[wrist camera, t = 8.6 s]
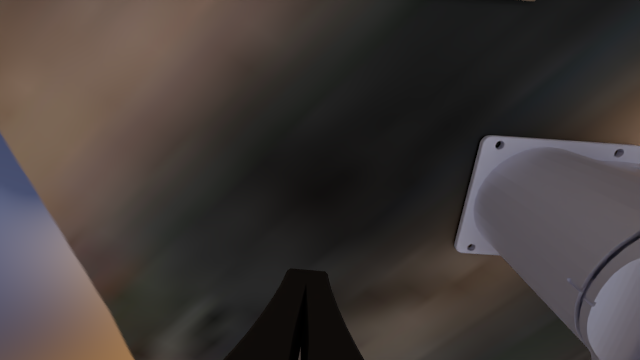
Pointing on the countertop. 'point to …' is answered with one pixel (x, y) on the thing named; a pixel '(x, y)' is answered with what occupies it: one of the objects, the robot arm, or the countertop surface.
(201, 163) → the countertop surface
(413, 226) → the countertop surface
